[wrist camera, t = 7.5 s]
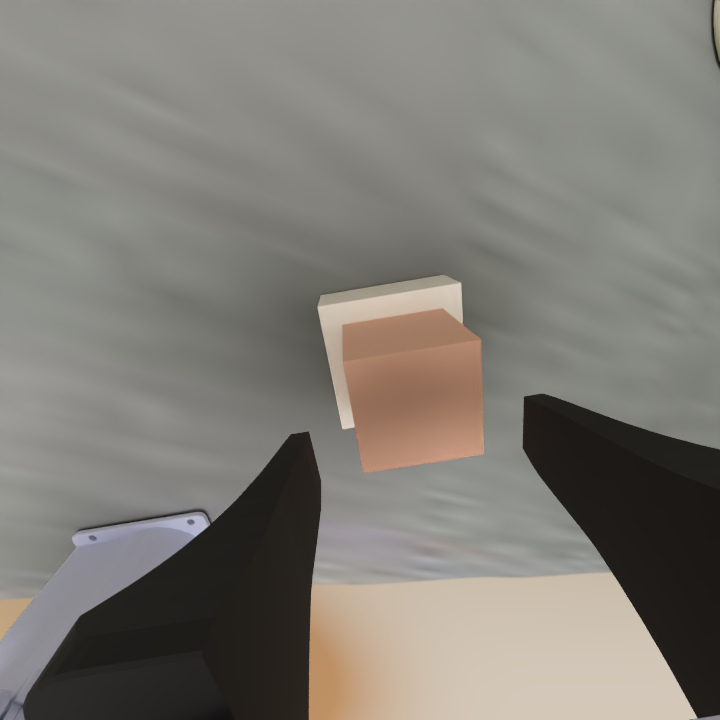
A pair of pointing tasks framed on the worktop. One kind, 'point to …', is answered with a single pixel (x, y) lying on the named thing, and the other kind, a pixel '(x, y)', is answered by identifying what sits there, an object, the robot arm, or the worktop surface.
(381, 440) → the terracotta cube
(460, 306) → the cream plinth
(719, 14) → the coffee can
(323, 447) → the worktop surface
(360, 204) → the worktop surface
